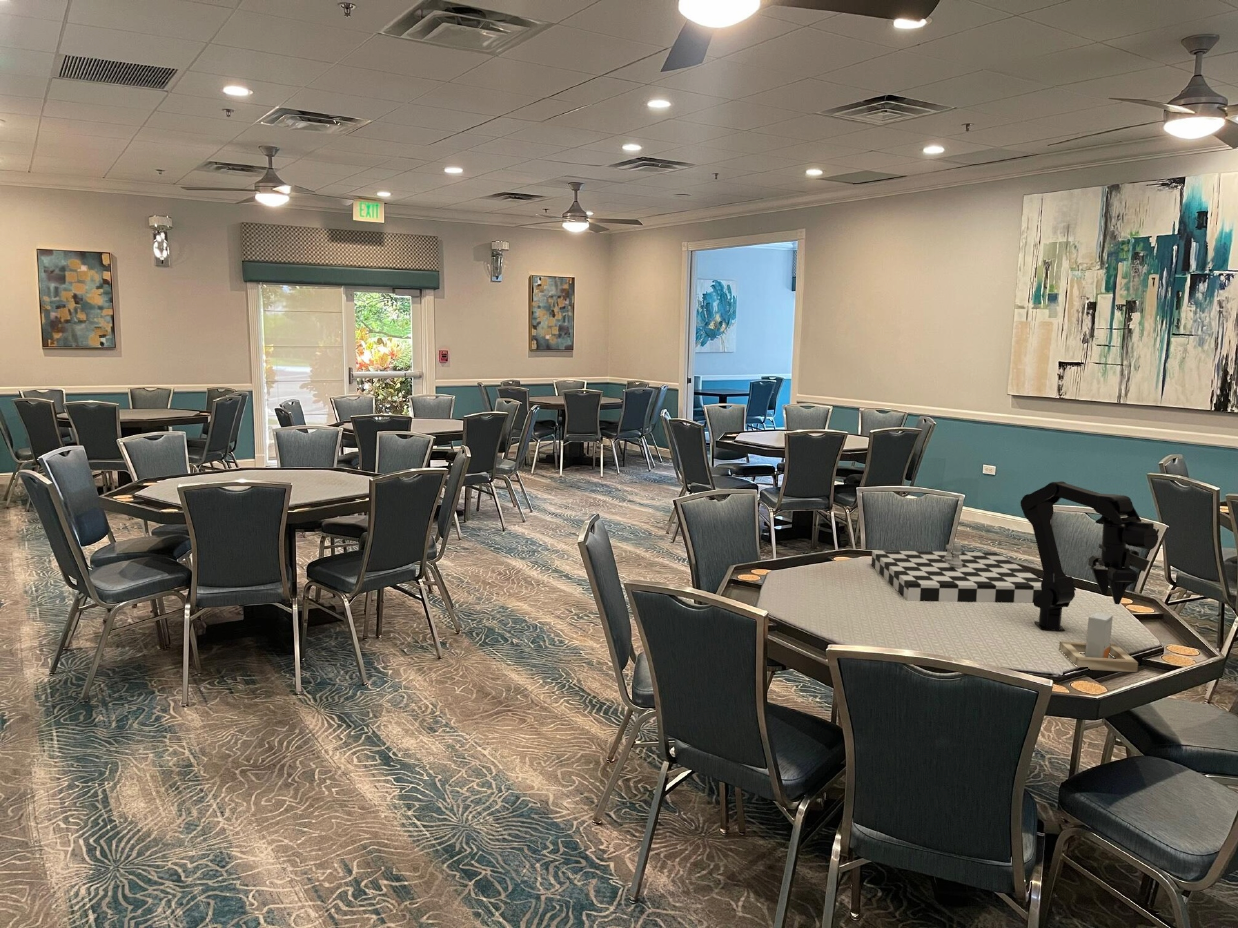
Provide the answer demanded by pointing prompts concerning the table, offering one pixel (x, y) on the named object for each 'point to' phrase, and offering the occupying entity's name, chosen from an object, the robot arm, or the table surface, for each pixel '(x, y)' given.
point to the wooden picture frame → (1118, 664)
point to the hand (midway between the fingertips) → (1110, 599)
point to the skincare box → (1098, 635)
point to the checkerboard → (956, 576)
